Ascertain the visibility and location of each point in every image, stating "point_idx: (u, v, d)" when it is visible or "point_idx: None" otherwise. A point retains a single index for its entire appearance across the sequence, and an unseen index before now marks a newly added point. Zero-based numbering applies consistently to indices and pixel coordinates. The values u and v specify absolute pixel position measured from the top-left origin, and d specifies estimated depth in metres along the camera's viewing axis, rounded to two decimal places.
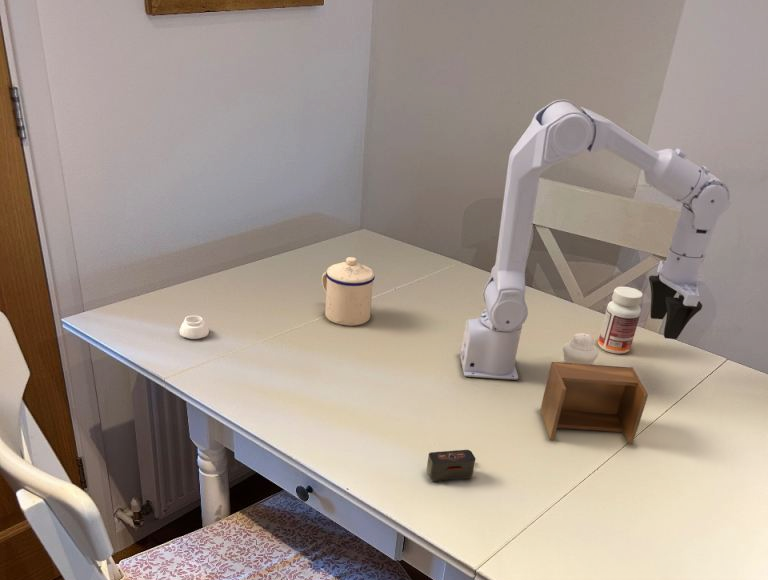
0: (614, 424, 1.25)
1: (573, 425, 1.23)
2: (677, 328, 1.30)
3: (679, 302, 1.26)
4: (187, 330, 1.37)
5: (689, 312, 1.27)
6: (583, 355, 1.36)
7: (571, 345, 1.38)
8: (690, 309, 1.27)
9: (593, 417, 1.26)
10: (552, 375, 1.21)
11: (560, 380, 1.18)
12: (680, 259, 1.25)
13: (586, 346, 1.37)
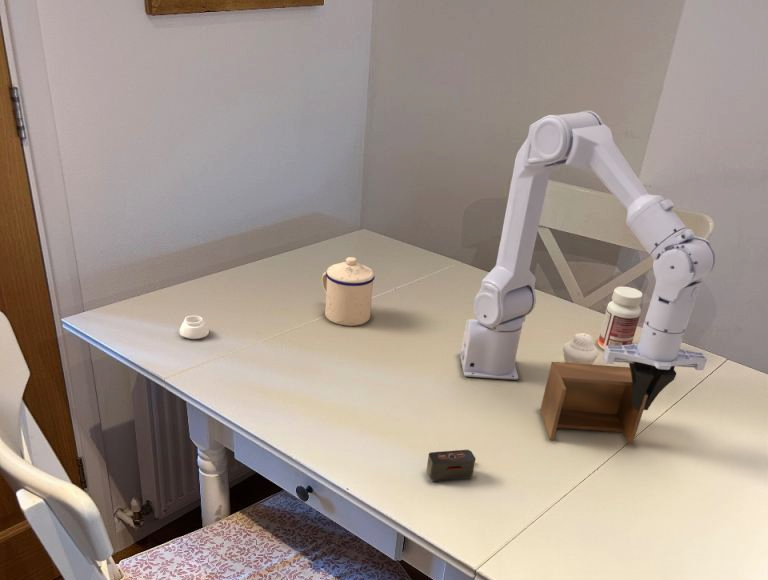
0: (614, 424, 1.25)
1: (573, 425, 1.23)
2: (636, 396, 1.17)
3: None
4: (187, 330, 1.37)
5: None
6: (583, 355, 1.36)
7: (571, 345, 1.38)
8: None
9: (593, 417, 1.26)
10: (552, 375, 1.21)
11: (560, 380, 1.18)
12: (645, 322, 1.13)
13: (586, 346, 1.37)
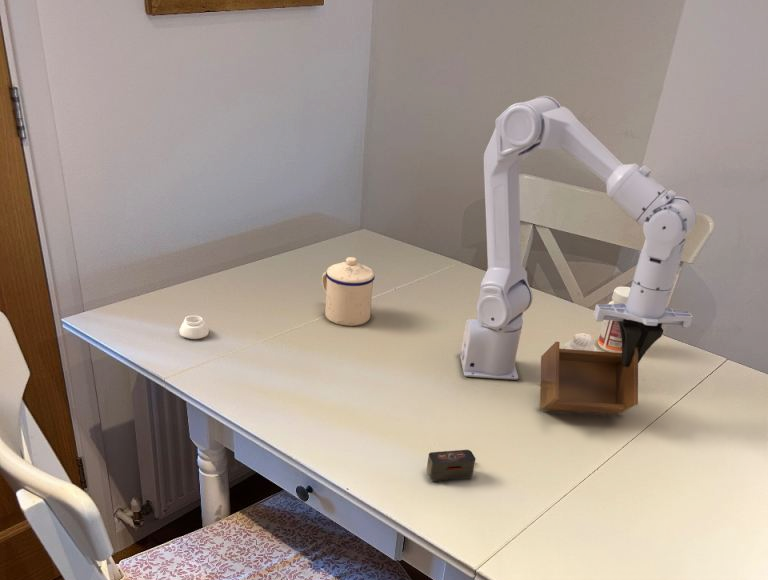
0: None
1: (575, 401, 1.23)
2: (625, 353, 1.23)
3: None
4: (187, 330, 1.37)
5: None
6: None
7: (571, 345, 1.38)
8: None
9: None
10: (544, 360, 1.27)
11: None
12: (633, 281, 1.18)
13: (586, 346, 1.37)
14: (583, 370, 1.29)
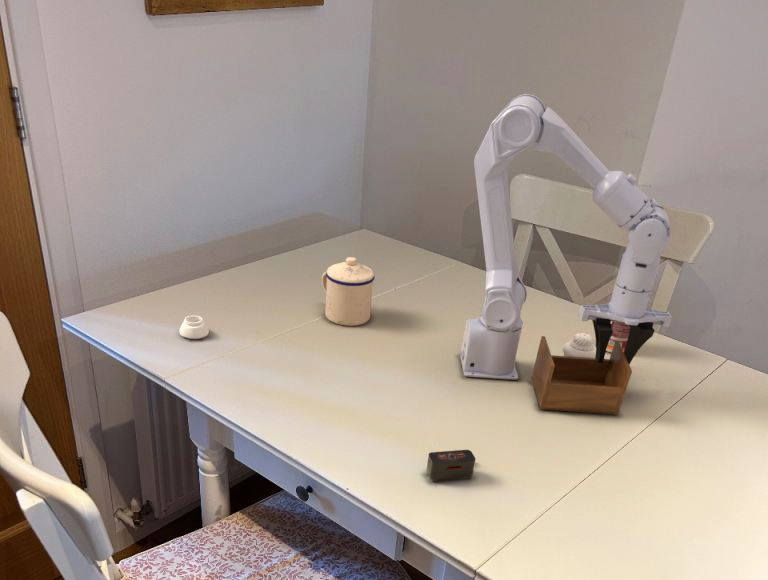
0: None
1: None
2: (599, 350, 1.30)
3: None
4: (187, 330, 1.37)
5: None
6: (583, 355, 1.36)
7: (571, 345, 1.38)
8: None
9: None
10: (534, 372, 1.32)
11: None
12: (616, 283, 1.26)
13: (586, 346, 1.37)
14: None
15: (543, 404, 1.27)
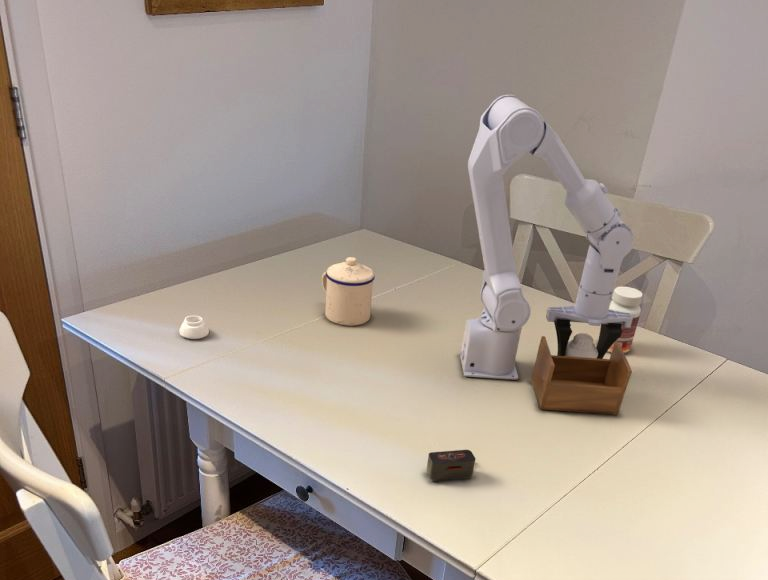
0: None
1: None
2: (560, 349, 1.38)
3: None
4: (187, 330, 1.37)
5: None
6: (583, 355, 1.36)
7: (571, 345, 1.38)
8: None
9: None
10: (534, 372, 1.32)
11: None
12: None
13: (586, 346, 1.37)
14: None
15: (543, 404, 1.27)
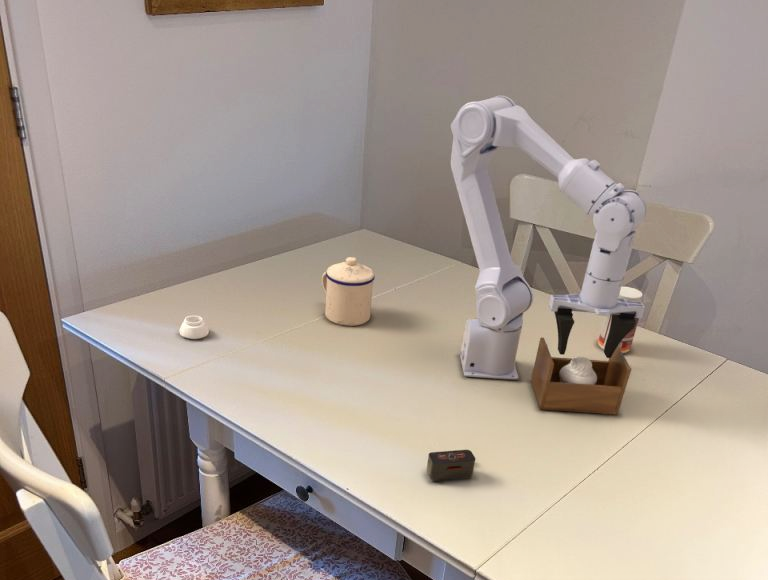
0: None
1: None
2: (561, 341, 1.25)
3: None
4: (187, 330, 1.37)
5: None
6: (581, 381, 1.27)
7: (568, 370, 1.28)
8: None
9: None
10: (534, 374, 1.33)
11: None
12: None
13: (584, 371, 1.27)
14: None
15: (543, 404, 1.27)
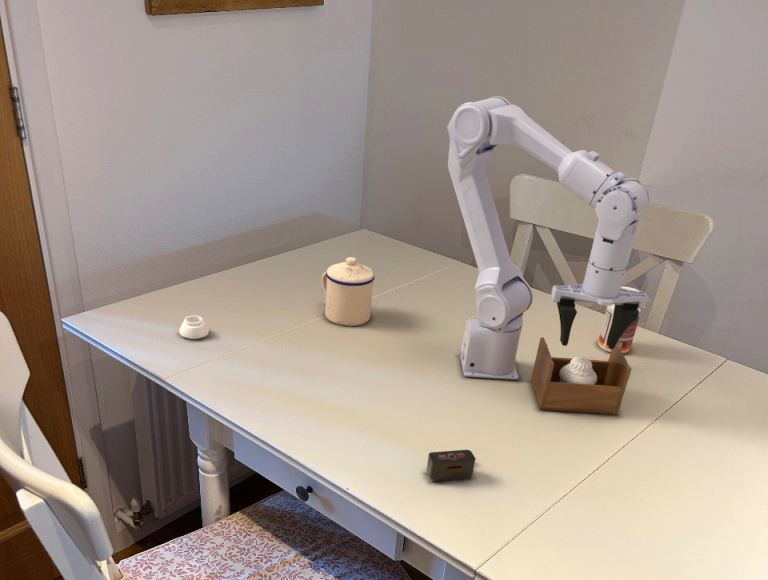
0: None
1: None
2: (563, 332, 1.24)
3: None
4: (186, 330, 1.37)
5: None
6: (581, 381, 1.27)
7: (568, 370, 1.28)
8: None
9: None
10: (534, 374, 1.33)
11: None
12: None
13: (584, 371, 1.27)
14: None
15: (543, 404, 1.27)
